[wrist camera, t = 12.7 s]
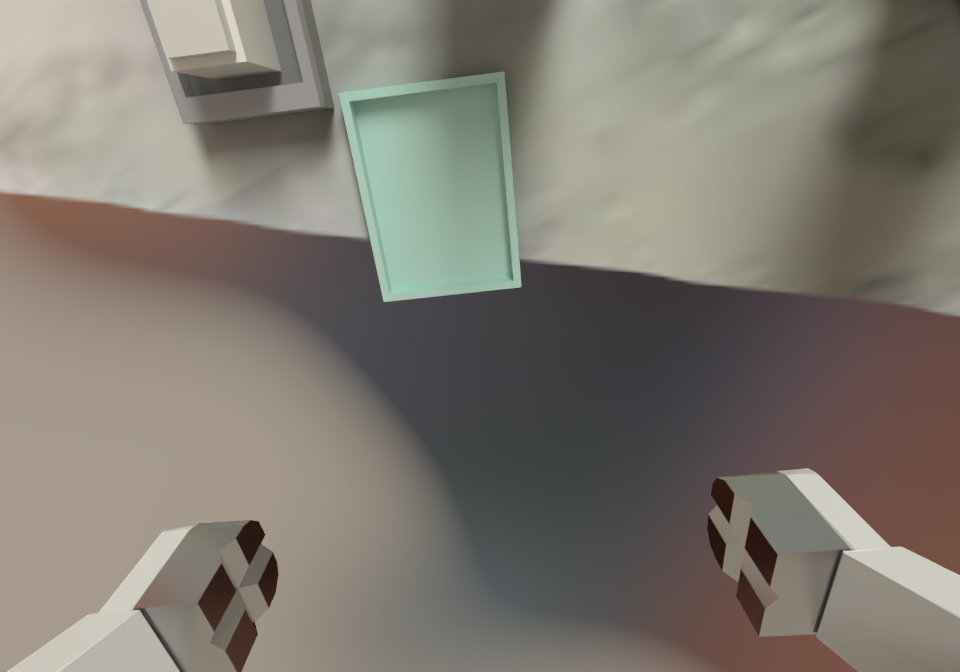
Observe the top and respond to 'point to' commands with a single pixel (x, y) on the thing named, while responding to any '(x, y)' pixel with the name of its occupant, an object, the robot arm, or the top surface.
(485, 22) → the top surface
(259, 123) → the top surface
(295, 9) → the grey compartment holder
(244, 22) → the plug
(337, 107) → the top surface
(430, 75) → the top surface
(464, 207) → the tray
